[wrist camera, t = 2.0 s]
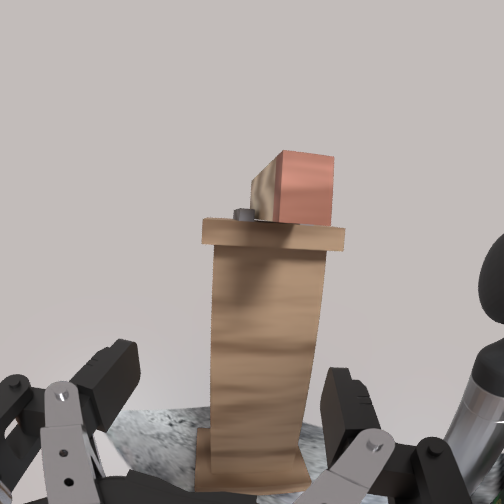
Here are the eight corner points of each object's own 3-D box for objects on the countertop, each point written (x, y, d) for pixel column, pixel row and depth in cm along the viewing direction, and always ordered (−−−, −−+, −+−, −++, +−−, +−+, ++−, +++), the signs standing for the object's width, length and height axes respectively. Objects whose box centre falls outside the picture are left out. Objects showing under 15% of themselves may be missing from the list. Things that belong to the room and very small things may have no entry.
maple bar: (330, 226, 17) (334, 156, 16) (278, 222, 16) (283, 150, 16) (277, 220, 32) (279, 183, 32) (249, 218, 32) (251, 181, 32)
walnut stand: (308, 490, 28) (361, 218, 24) (195, 495, 26) (189, 205, 22) (289, 435, 40) (316, 216, 36) (197, 437, 38) (199, 208, 34)
